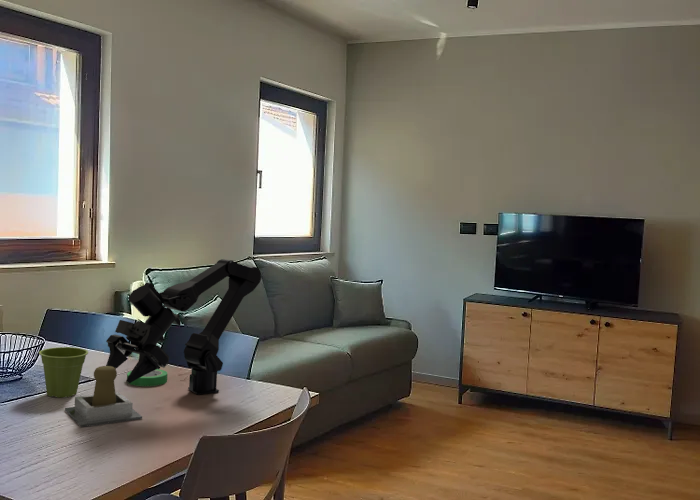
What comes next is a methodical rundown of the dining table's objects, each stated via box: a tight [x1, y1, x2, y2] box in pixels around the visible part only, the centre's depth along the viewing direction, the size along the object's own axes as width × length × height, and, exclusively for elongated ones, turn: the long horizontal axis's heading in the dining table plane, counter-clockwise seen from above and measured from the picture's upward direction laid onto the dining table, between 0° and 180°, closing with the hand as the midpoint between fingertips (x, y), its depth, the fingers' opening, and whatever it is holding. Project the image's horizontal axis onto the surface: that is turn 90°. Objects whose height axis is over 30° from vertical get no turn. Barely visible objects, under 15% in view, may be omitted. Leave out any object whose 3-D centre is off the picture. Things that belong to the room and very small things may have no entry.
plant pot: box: [38, 346, 89, 399], centre depth 181 cm, size 12×12×11 cm
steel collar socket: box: [64, 391, 143, 428], centre depth 166 cm, size 14×14×4 cm
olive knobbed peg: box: [92, 365, 118, 406], centre depth 166 cm, size 6×6×11 cm
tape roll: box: [126, 368, 168, 387], centre depth 198 cm, size 11×11×3 cm
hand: (116, 378), depth 169 cm, fingers open, 9 cm apart
